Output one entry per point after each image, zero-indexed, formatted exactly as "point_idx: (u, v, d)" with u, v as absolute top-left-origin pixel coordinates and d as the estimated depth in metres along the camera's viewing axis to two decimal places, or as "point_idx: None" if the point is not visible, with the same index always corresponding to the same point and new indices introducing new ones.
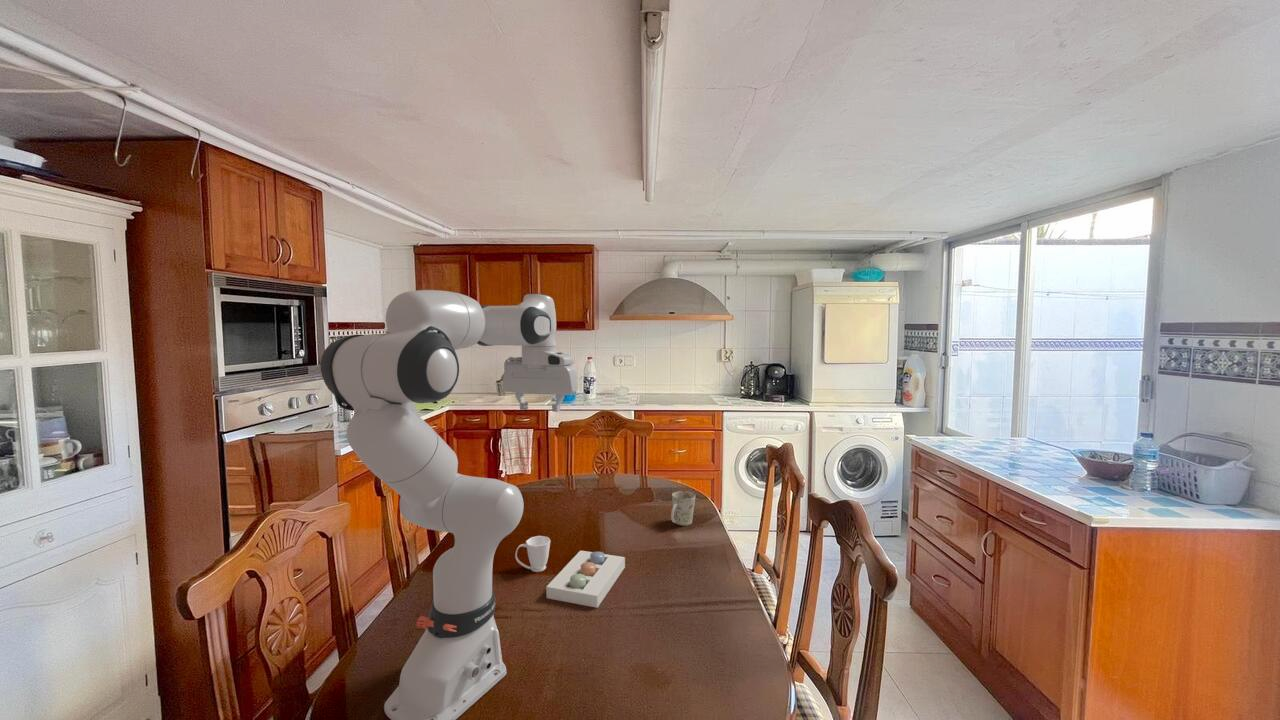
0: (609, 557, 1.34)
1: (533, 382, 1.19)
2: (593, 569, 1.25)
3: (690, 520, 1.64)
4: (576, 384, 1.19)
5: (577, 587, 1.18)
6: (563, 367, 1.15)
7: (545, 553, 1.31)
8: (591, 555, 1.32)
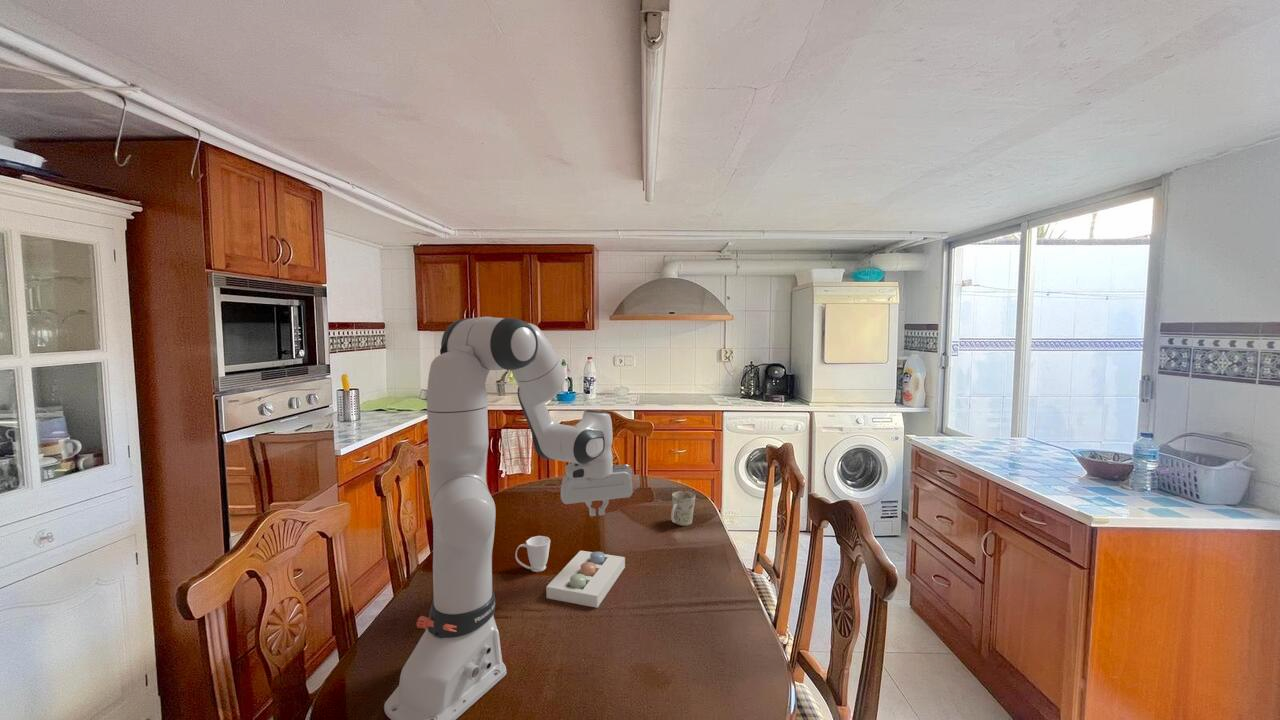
0: (609, 557, 1.34)
1: None
2: (593, 569, 1.25)
3: (690, 520, 1.64)
4: (562, 495, 1.27)
5: (577, 587, 1.18)
6: None
7: (545, 553, 1.31)
8: (591, 555, 1.32)
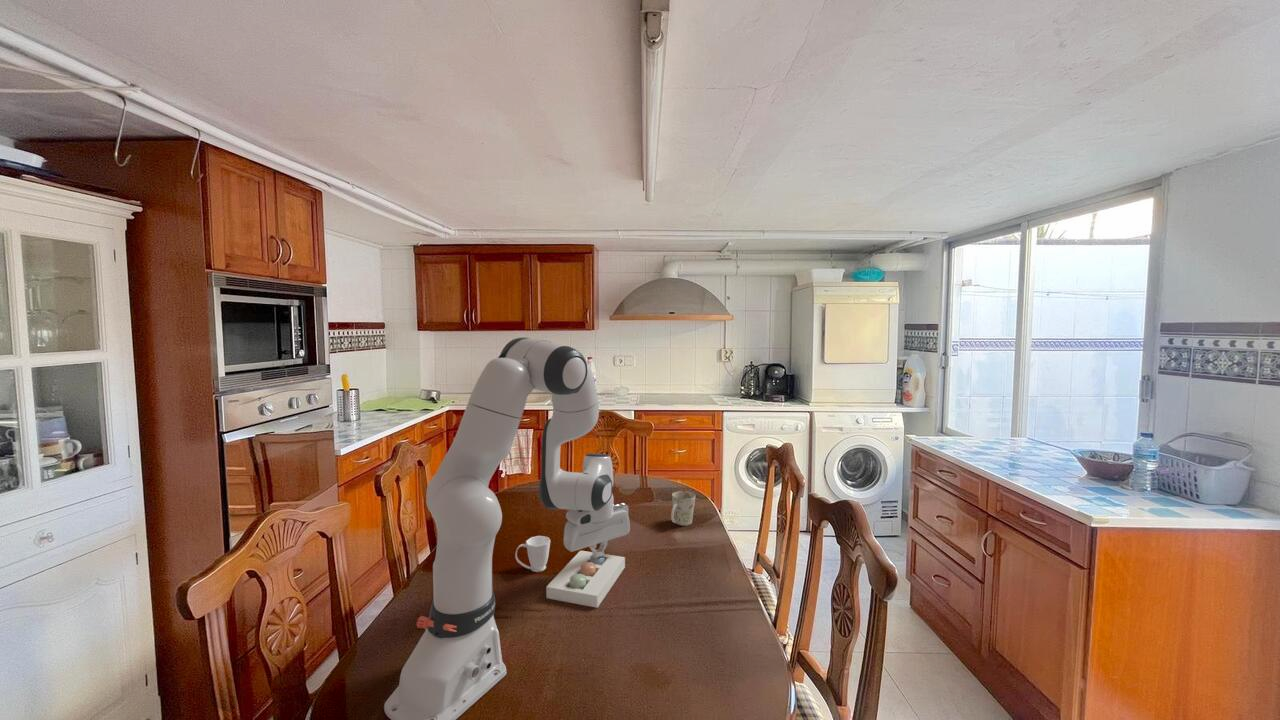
0: (609, 557, 1.34)
1: None
2: (593, 569, 1.25)
3: (690, 520, 1.64)
4: (568, 543, 1.25)
5: (577, 587, 1.18)
6: None
7: (545, 553, 1.31)
8: (591, 557, 1.32)
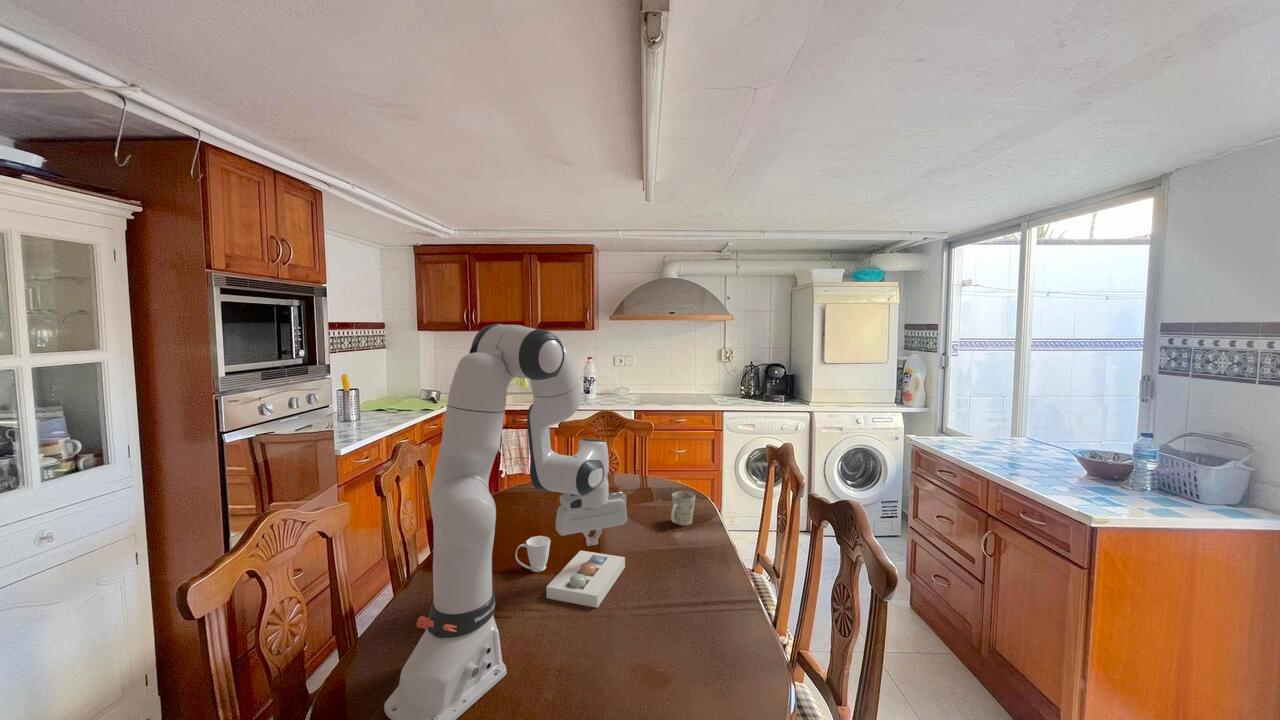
0: (609, 557, 1.34)
1: None
2: (593, 569, 1.25)
3: (690, 520, 1.64)
4: (558, 527, 1.24)
5: (577, 587, 1.18)
6: None
7: (545, 553, 1.31)
8: (591, 559, 1.32)
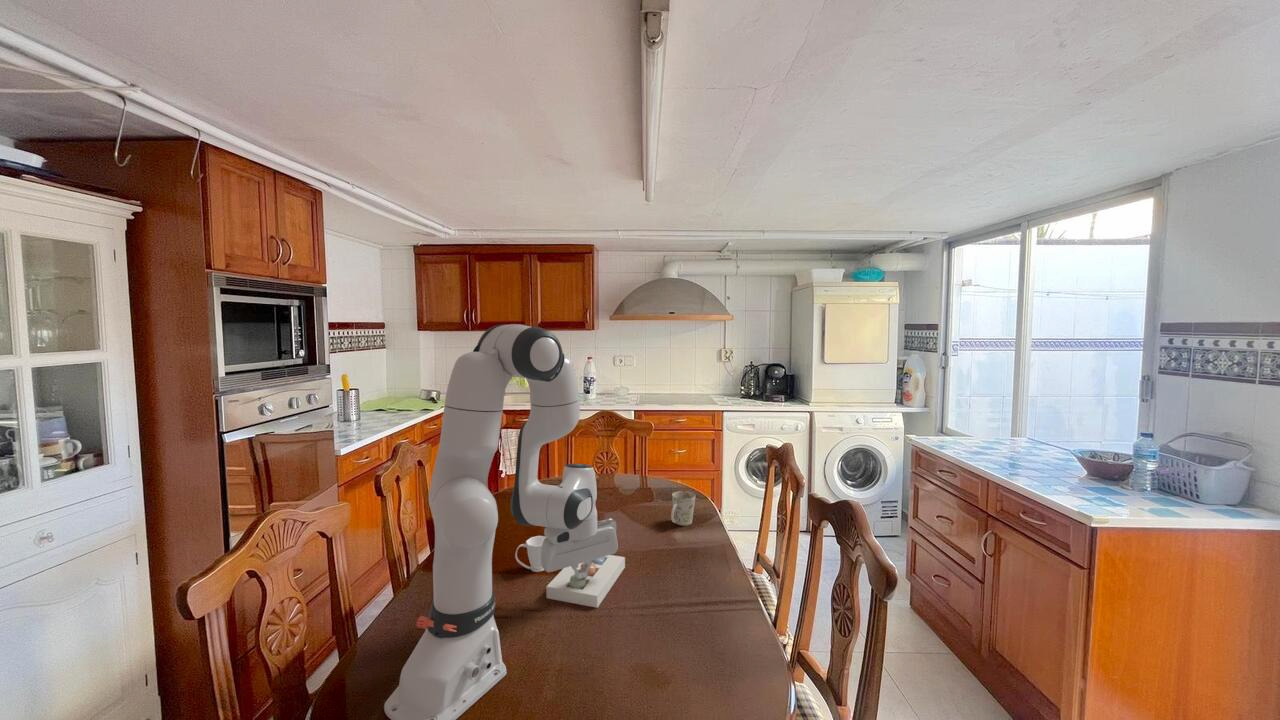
0: (609, 557, 1.34)
1: None
2: (593, 569, 1.25)
3: (690, 520, 1.64)
4: (544, 563, 1.13)
5: (577, 587, 1.18)
6: None
7: None
8: None
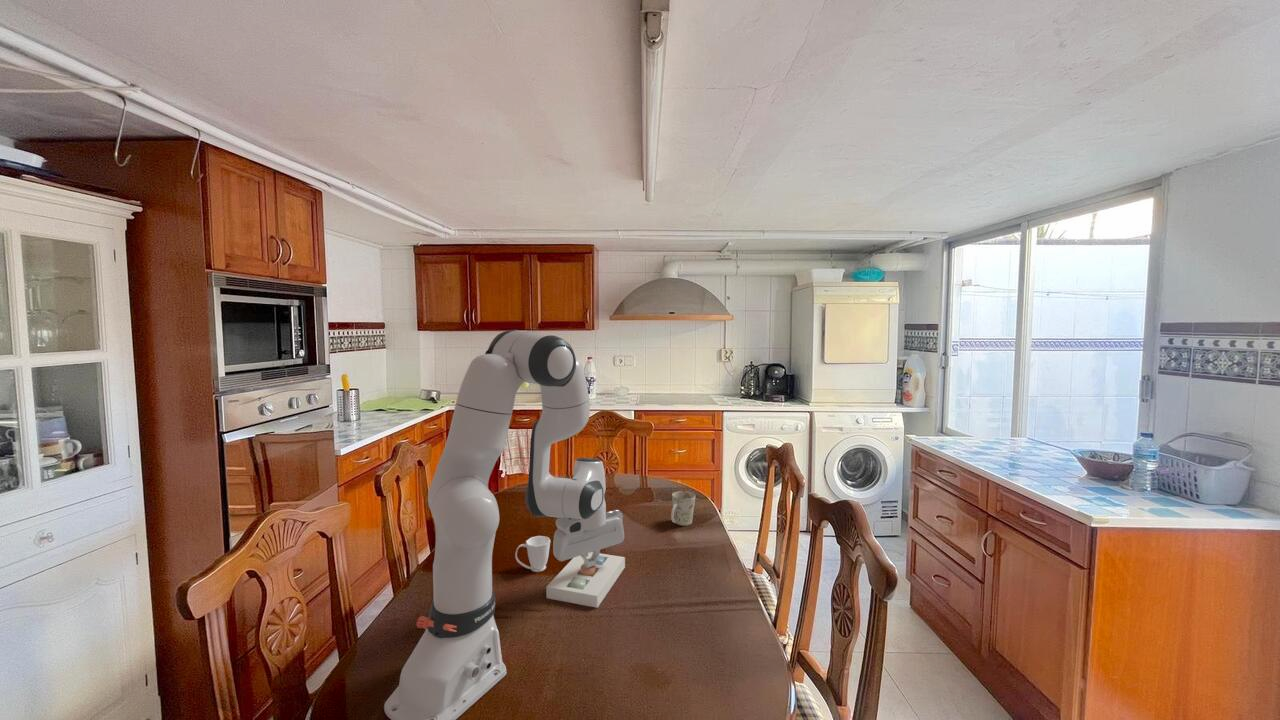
0: (609, 557, 1.34)
1: None
2: (593, 570, 1.25)
3: (690, 520, 1.64)
4: (557, 552, 1.19)
5: None
6: None
7: (545, 553, 1.31)
8: None
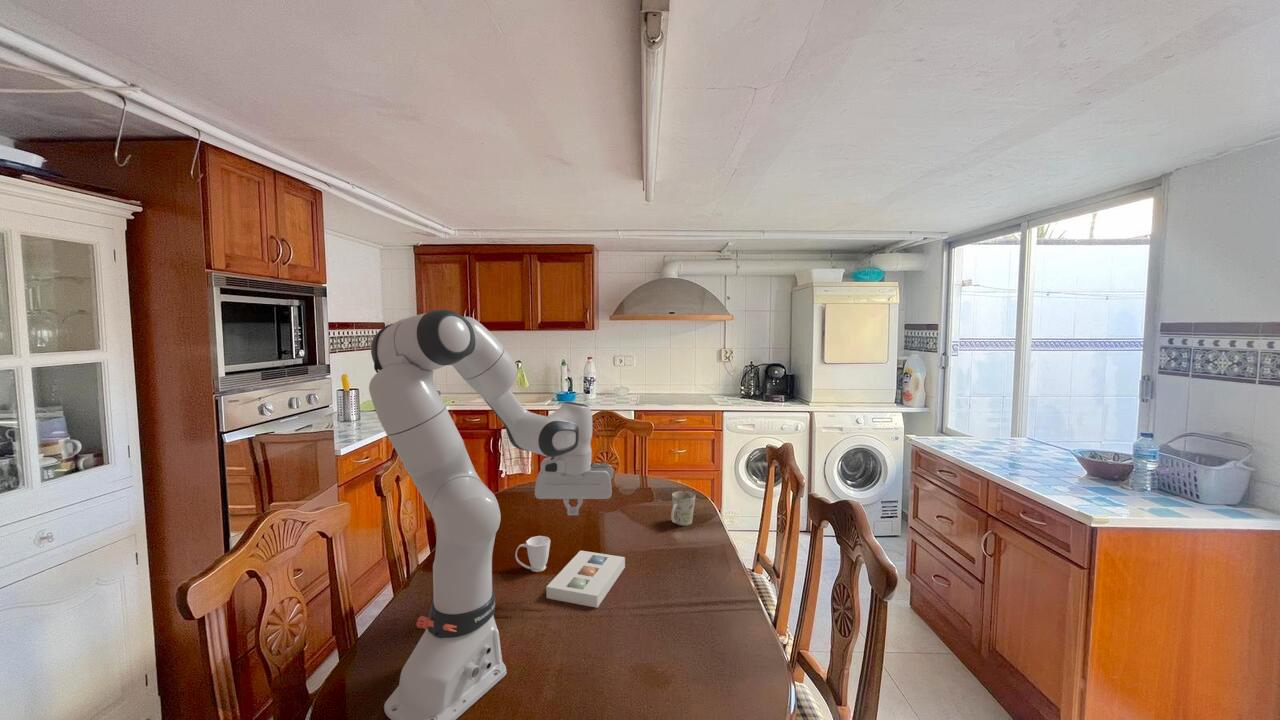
0: (609, 557, 1.34)
1: None
2: (593, 573, 1.25)
3: (690, 520, 1.64)
4: (535, 489, 1.21)
5: None
6: None
7: (545, 553, 1.31)
8: (591, 559, 1.32)
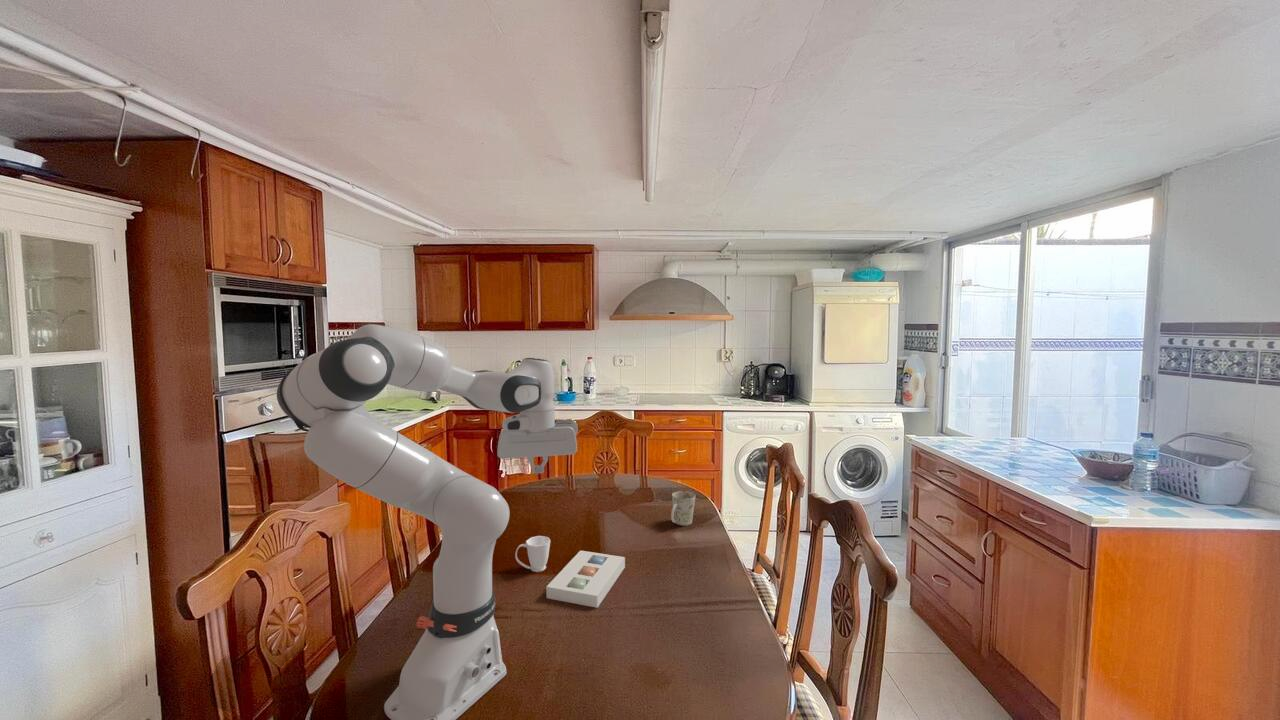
0: (609, 557, 1.34)
1: None
2: (593, 573, 1.25)
3: (690, 520, 1.64)
4: None
5: None
6: None
7: (545, 553, 1.31)
8: (591, 559, 1.32)
